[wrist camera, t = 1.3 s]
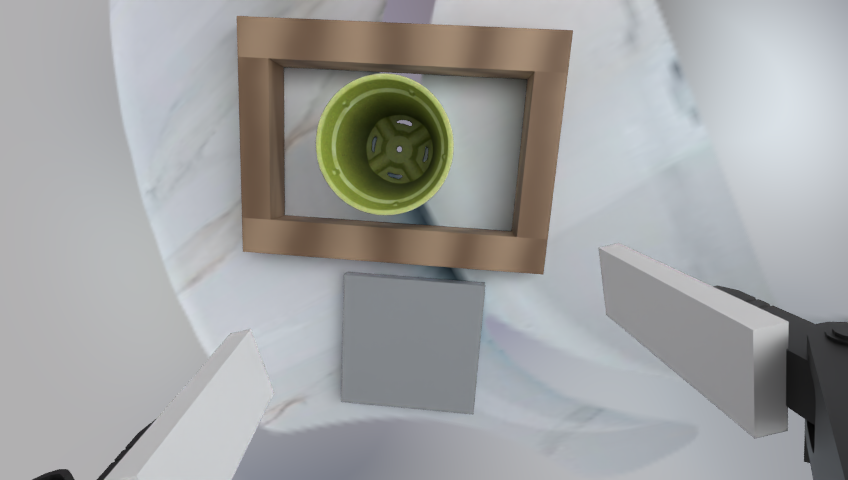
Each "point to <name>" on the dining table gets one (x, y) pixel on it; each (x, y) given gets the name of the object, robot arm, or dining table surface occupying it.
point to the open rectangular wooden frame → (398, 53)
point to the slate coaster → (411, 341)
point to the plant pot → (384, 144)
